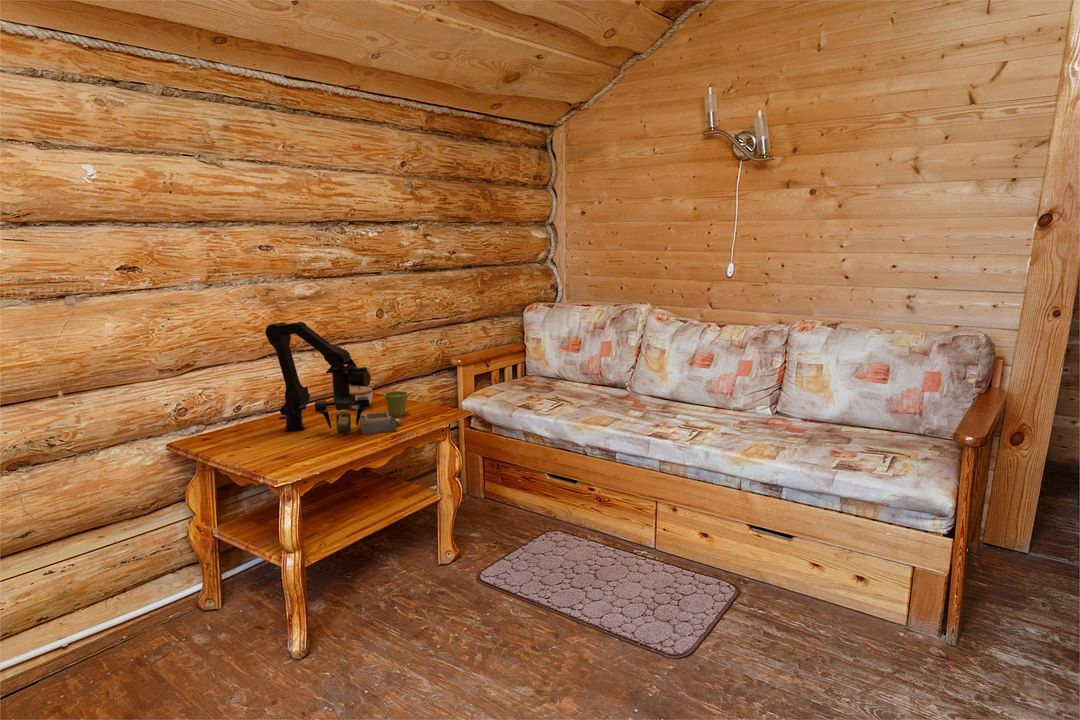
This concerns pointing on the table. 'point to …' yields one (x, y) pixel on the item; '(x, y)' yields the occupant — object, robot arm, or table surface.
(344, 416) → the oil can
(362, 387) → the lidded jar
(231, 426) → the table surface
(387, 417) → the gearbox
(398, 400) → the plant pot
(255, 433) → the table surface
